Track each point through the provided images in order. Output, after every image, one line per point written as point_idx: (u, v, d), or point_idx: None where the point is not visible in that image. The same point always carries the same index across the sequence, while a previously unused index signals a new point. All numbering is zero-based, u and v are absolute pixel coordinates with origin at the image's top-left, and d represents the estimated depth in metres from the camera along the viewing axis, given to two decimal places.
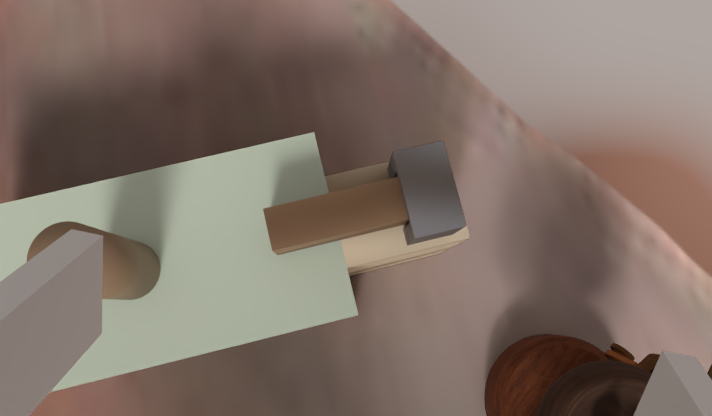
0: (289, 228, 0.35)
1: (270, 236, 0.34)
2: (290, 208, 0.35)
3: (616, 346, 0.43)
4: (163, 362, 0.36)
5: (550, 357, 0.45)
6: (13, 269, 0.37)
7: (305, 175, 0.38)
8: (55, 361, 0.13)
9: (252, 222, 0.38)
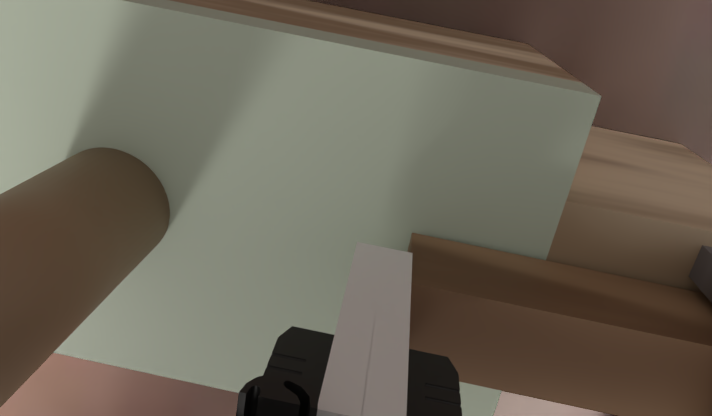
0: (446, 344, 0.15)
1: None
2: (469, 308, 0.15)
3: None
4: (133, 367, 0.21)
5: None
6: None
7: (526, 181, 0.17)
8: None
9: (373, 223, 0.18)
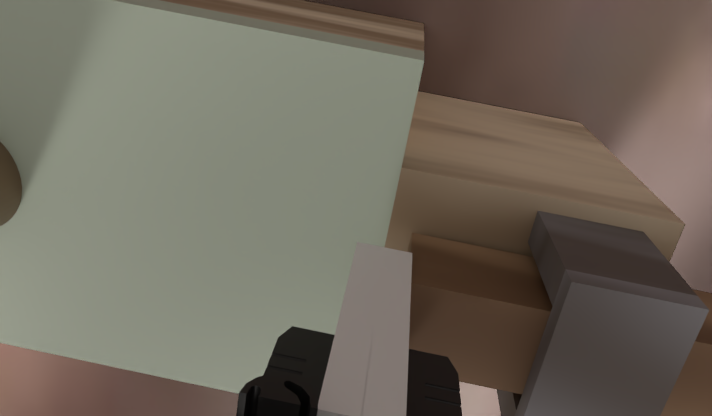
0: (447, 344, 0.15)
1: None
2: (469, 308, 0.15)
3: None
4: (3, 341, 0.21)
5: None
6: None
7: (361, 147, 0.17)
8: None
9: (218, 192, 0.18)
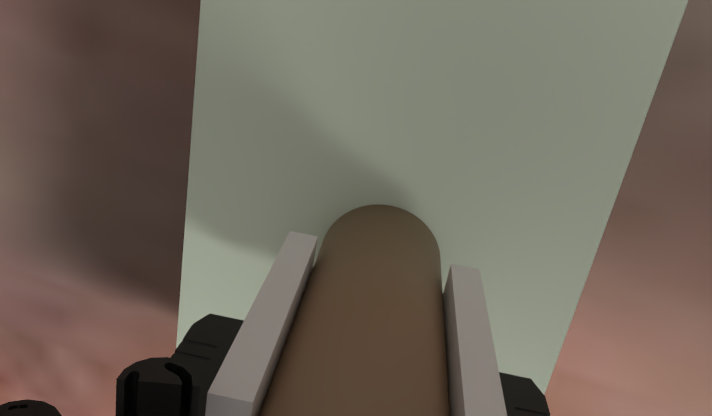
0: None
1: None
2: None
3: None
4: (584, 274, 0.18)
5: None
6: None
7: None
8: None
9: None
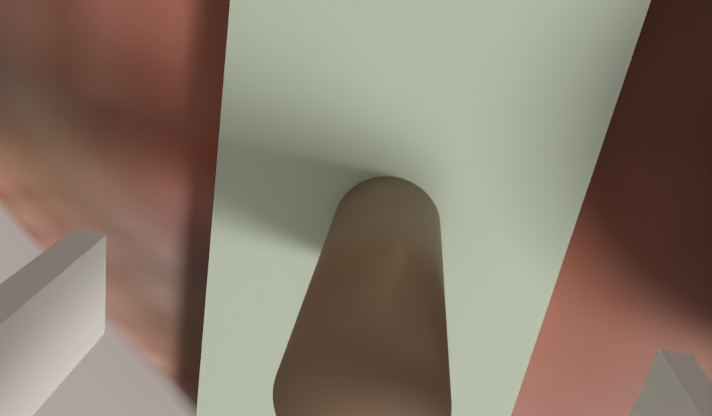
0: None
1: None
2: None
3: None
4: (568, 237, 0.20)
5: None
6: None
7: None
8: (59, 360, 0.13)
9: None
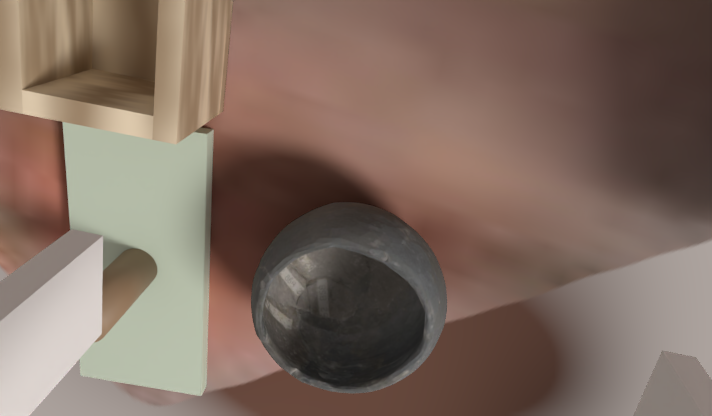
0: None
1: None
2: None
3: None
4: (203, 268, 0.52)
5: None
6: (120, 330, 0.56)
7: (94, 132, 0.49)
8: (55, 361, 0.13)
9: (122, 181, 0.50)
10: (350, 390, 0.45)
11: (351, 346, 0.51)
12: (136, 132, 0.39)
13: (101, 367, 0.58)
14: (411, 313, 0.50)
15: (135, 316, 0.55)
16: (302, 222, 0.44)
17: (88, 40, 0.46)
